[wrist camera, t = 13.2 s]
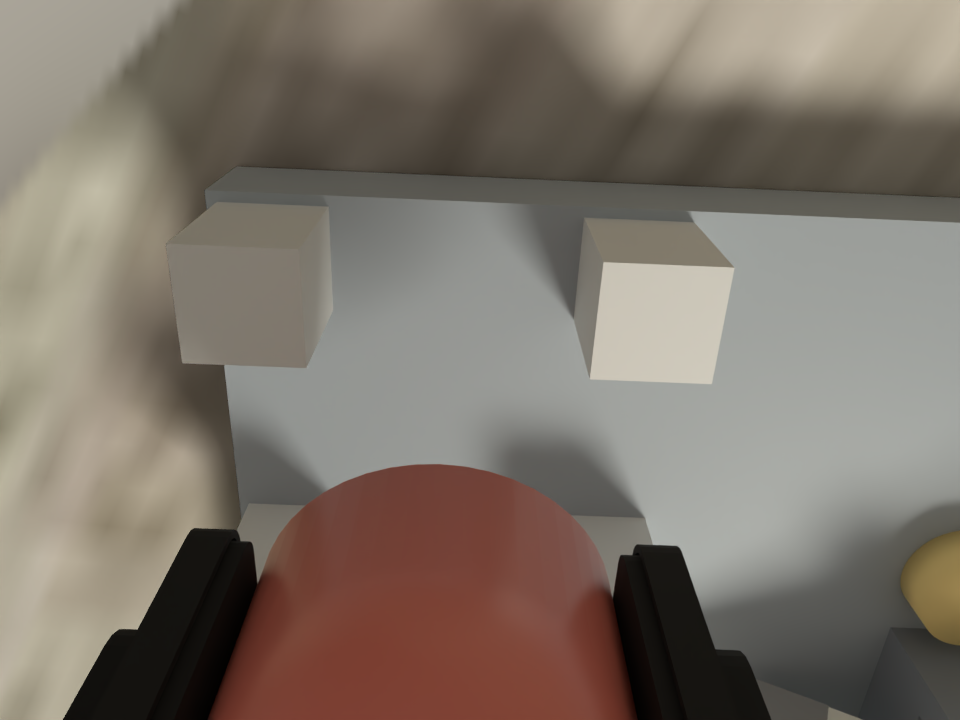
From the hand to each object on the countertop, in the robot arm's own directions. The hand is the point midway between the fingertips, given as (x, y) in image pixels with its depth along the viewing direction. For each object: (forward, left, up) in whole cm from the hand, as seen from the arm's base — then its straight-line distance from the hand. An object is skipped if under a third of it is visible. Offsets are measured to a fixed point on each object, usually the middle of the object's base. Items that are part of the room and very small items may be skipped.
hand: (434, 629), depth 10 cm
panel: (-5, -6, -8) cm, 12 cm away
